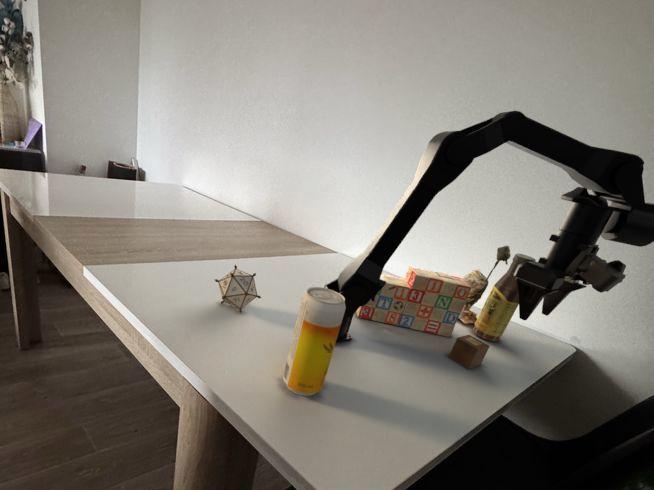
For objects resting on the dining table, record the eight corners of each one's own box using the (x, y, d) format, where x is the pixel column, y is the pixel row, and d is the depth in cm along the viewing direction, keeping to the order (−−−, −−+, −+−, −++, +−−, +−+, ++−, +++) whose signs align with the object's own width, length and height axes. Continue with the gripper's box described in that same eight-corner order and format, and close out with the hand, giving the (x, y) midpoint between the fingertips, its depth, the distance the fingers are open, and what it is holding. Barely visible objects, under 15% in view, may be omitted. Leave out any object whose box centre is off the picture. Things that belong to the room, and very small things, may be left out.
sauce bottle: (468, 327, 95) (504, 248, 86) (494, 334, 94) (533, 255, 86) (475, 338, 89) (514, 255, 81) (503, 346, 89) (546, 263, 80)
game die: (241, 322, 82) (277, 293, 79) (219, 320, 74) (257, 288, 71) (221, 289, 85) (255, 259, 81) (197, 283, 77) (233, 251, 74)
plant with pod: (466, 311, 106) (498, 239, 97) (486, 330, 96) (524, 251, 87) (437, 305, 105) (467, 232, 96) (455, 324, 95) (490, 244, 86)
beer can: (327, 397, 58) (355, 305, 51) (289, 398, 56) (313, 303, 49) (313, 373, 63) (336, 287, 56) (277, 373, 61) (297, 284, 54)
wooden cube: (448, 356, 78) (457, 337, 76) (460, 353, 81) (469, 334, 79) (468, 369, 75) (478, 348, 73) (480, 365, 77) (490, 345, 75)
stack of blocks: (357, 318, 87) (373, 265, 81) (354, 307, 92) (369, 257, 87) (450, 337, 87) (473, 286, 82) (441, 325, 93) (462, 276, 88)
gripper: (615, 249, 54) (559, 345, 61) (651, 249, 65) (600, 331, 72) (535, 226, 62) (493, 314, 69) (579, 230, 73) (539, 305, 80)
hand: (534, 316), depth 72 cm, fingers open, 9 cm apart
